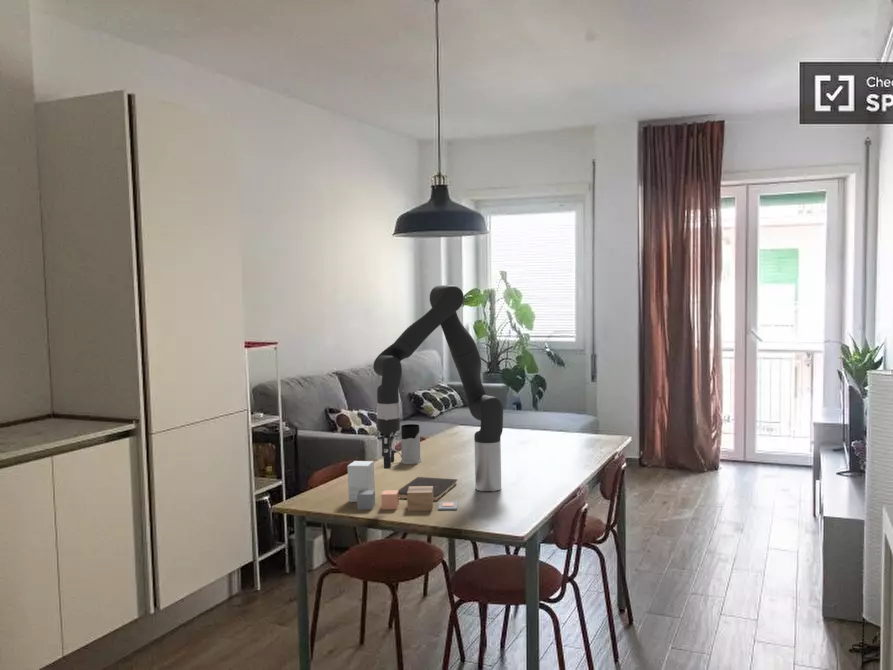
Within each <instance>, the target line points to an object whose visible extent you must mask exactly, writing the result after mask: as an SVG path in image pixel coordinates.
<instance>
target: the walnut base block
mask: <svg viewBox="0 0 893 670" xmlns="http://www.w3.org/2000/svg"><path fill="white" fill-rule="evenodd" d="M406 500H407V501H406V502H407V511H408V510H420V511H433V510H432V509H433V508H434V504H433V503H434V502H435V501H434V499H433V486H409V489H408V492H407V499H406Z"/></svg>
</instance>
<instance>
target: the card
mask: <svg viewBox="0 0 893 670" xmlns="http://www.w3.org/2000/svg"><path fill="white" fill-rule="evenodd" d="M457 505H459V501H457V500H455V501H450V500H449V501H442V500H441V501H439V504H438V508H437V511H457V510H458V506H457Z"/></svg>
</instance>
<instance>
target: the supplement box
mask: <svg viewBox="0 0 893 670" xmlns="http://www.w3.org/2000/svg"><path fill="white" fill-rule="evenodd" d="M374 462H375V461H373V460H371V461H370V460H353V462H350V463H349V464H348V465H347V486H348V488H347V489H348V502H349V503H357V494H358V492H359V491H360V490H375V491H376V485H375V463H374Z"/></svg>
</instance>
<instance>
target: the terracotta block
mask: <svg viewBox="0 0 893 670" xmlns="http://www.w3.org/2000/svg"><path fill="white" fill-rule="evenodd" d="M399 490H400V489H396V490H395V489H393V490H392V489H390V490H389V489H388V490H383V491H382V493H381V510H398V508H399V506H400V498H399ZM398 505H399V506H398Z"/></svg>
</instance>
